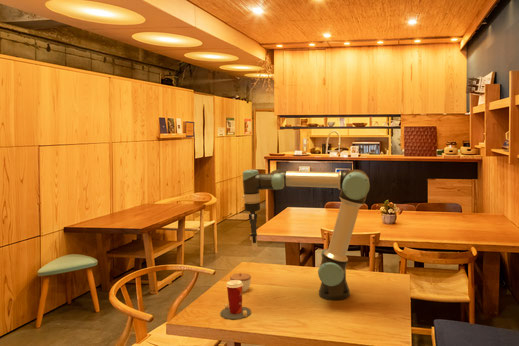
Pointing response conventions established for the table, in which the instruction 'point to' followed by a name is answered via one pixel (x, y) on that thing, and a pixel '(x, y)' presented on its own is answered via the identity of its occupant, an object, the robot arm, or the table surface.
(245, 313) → the pad
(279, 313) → the table surface
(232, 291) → the paper cup
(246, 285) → the lidded jar
